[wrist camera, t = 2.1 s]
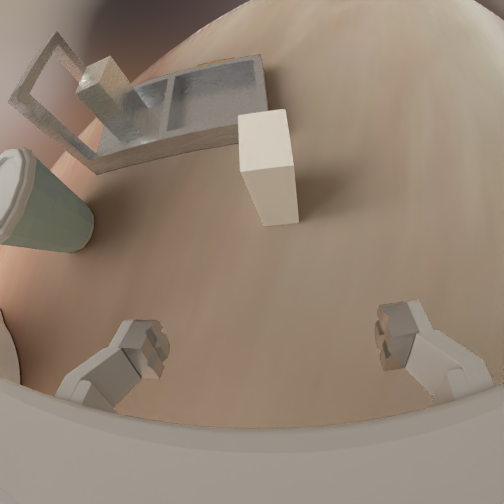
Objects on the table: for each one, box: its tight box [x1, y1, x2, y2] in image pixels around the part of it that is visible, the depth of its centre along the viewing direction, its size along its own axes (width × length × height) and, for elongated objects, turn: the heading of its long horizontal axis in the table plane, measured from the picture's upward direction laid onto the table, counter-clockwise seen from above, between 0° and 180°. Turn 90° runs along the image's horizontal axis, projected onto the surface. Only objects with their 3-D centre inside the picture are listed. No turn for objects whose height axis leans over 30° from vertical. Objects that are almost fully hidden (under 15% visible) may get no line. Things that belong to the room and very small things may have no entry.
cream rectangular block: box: [238, 109, 299, 227], centre depth 24 cm, size 4×5×11 cm
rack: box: [8, 31, 269, 175], centre depth 27 cm, size 24×12×18 cm, turn 94°
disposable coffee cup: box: [0, 147, 94, 253], centre depth 27 cm, size 11×11×15 cm
